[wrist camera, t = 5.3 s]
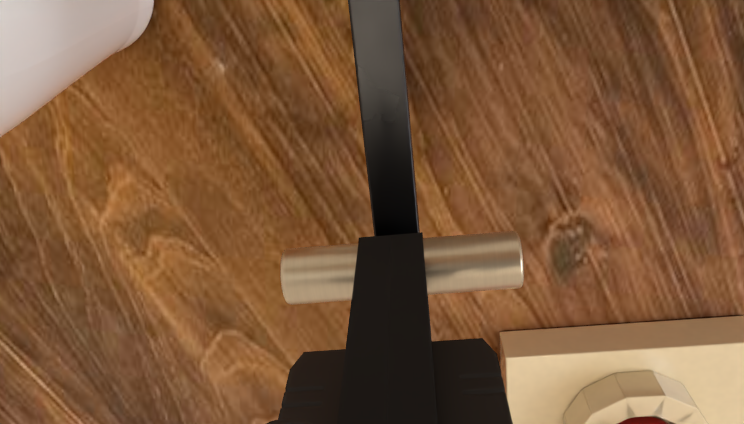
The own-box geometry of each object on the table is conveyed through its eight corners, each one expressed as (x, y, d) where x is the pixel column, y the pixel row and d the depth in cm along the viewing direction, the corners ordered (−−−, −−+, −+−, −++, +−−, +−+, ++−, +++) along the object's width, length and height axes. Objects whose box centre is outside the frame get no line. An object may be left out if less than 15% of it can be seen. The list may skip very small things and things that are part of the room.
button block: (743, 314, 32) (788, 366, 28) (722, 451, 35) (759, 512, 32) (499, 331, 33) (511, 382, 29) (503, 462, 36) (514, 522, 33)
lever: (513, 265, 18) (529, 307, 15) (297, 281, 18) (281, 324, 16) (489, -374, 13) (508, -450, 11) (200, -329, 13) (158, -393, 11)
